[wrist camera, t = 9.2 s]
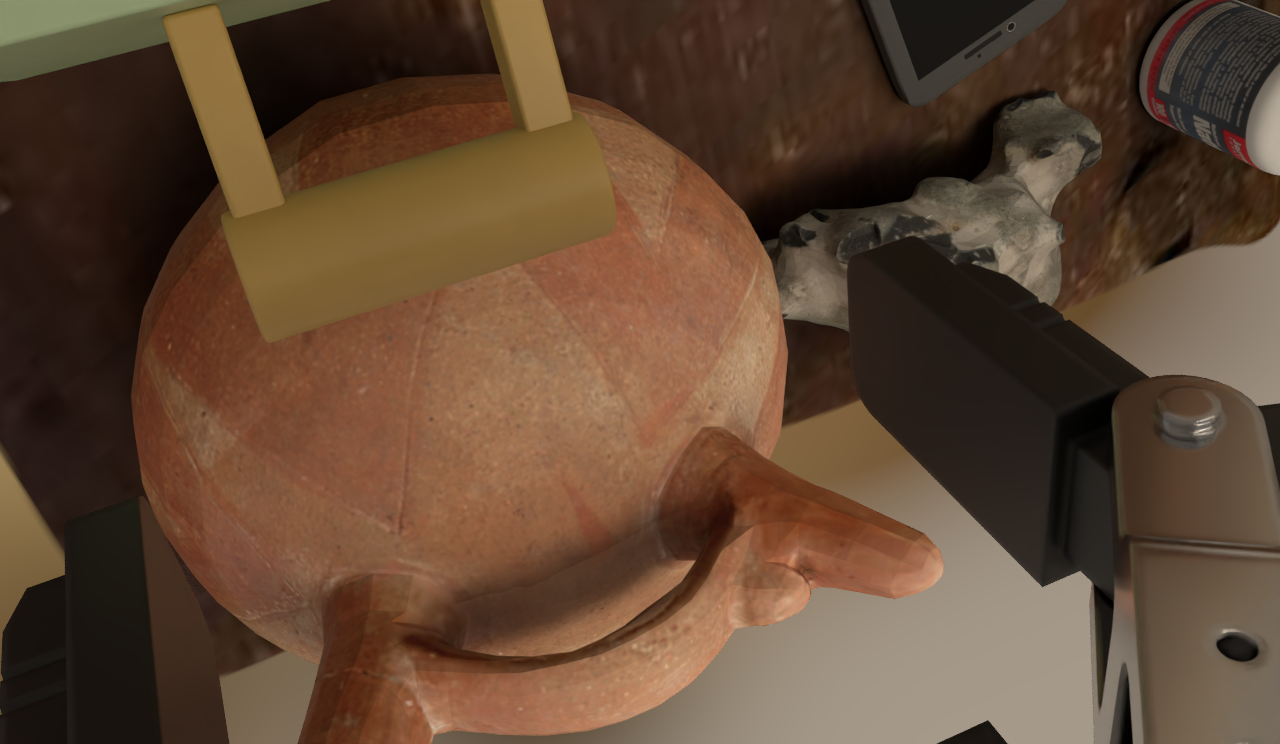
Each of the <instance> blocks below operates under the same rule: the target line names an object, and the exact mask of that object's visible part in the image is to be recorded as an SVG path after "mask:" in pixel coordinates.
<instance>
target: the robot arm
mask: <svg viewBox="0 0 1280 744" xmlns="http://www.w3.org/2000/svg"><path fill="white" fill-rule="evenodd" d="M847 293H848V318H849V343H850V365H851V372H852V376H853V380H854V383H855V386H856V389H857V391H858V394H859V396H860V398H861V400H862V402H863V403H864V405H865V407H866V408H867V409H868V411H869V412H870V413H871V415H872V416H873V417H874V418H875V419H876V420H878V422H879V423H880V424H881V425H882V426H883V427H884V428H885V429H886V430H887V431H888V432H889V433H890V434H891V435H892V436H893V437H894V438H895V439H896V440H897V441H898V442H899V443H900V444H901V445H902V446H903V447H904V448H905V449H906V450H907V451H908V452H909V453H910V454H911V455H912V456H913V457H914V458H915V459H916V460H917V461H918V462H919V463H920V464H921V465H922V466H923V467H924V468H925V469H926V470H927V471H928V472H929V473H930V474H931V475H932V476H933V477H934V478H935V479H936V480H937V481H938V482H939V483H940V484H941V485H942V486H943V487H944V488H945V489H946V490H947V491H948V492H949V493H950V494H951V495H952V496H953V497H954V498H955V499H956V500H957V501H958V502H959V503H960V504H961V505H962V506H963V507H964V508H965V510H966V511H967V512H968V513H970V515H971V516H972V517H973V518H975V520H976V521H977V522H979V524H981V526H982V527H984V529H985V530H987V532H988V533H989V534H990V535H991V536H992V537H993V538H994V539H995V540H996V541H997V542H998V543H999V544H1000V545H1001V546H1002V547H1003V548H1004V549H1005V550H1006V551H1007V552H1008V553H1010V555H1011V556H1012V557H1013V558H1014V559H1015V560H1016V561H1017V562H1018V563H1019V564H1020V565H1021V566H1022V567H1023V568H1024V569H1025V570H1026V571H1027V572H1028V573H1029V574H1030V575H1031V576H1032V577H1033V578H1034V579H1035V580H1036V581H1037V582H1038V583H1039V584H1040V585H1041V586H1042V587H1044V586H1046V585H1048V584H1051V583H1053V582H1055V581H1057V580H1060V579H1062V578H1064V577H1067V576H1069V575H1071V574H1074V573H1076V572H1078V571H1082V573H1083V574H1084V575H1085V576H1086V577H1087V578H1089V579H1090V580H1091V581H1092V586H1091V594H1090V605H1089V606H1090V634H1091V664H1092V694H1093V723H1094V744H1280V404H1272V405H1264V406H1257V405H1255V403H1254V402H1253V401H1252V400H1251V399H1249V398H1248V397H1247V396H1245V395H1244V394H1243V393H1241V392H1240V391H1238V390H1236V389H1234V388H1232V387H1230V386H1228V385H1225V384H1223V383H1220V382H1217V381H1214V380H1210V379H1207V378H1201V377H1196V376H1187V375H1164V376H1156V377H1151V378H1150V377H1148V376H1147V375H1145V374H1144V373H1143V372H1141V371H1140V370H1139V369H1137V368H1136V367H1134V366H1133V365H1132V364H1130V363H1129V362H1127V361H1126V360H1125V359H1123V358H1122V357H1121V356H1119V355H1118V354H1116V353H1115V352H1113V351H1112V350H1111V349H1109V348H1108V347H1107V346H1105V345H1104V344H1102V343H1101V342H1100V341H1098V340H1097V339H1095V338H1094V337H1093V336H1091V335H1090V334H1088V333H1087V332H1086V331H1084V330H1083V329H1081V328H1080V327H1079V326H1077V325H1076V324H1075V323H1073V322H1072V321H1070V320H1067V321H1065V320H1064V318H1063V315H1062V314H1061V313H1059V312H1058V311H1057V310H1055V309H1054V308H1052V307H1051V306H1050V305H1048V304H1047V303H1045V302H1042V303H1040V302H1039V300H1038V297H1037V296H1036V295H1034V294H1033V293H1031V292H1030V291H1029V290H1027V289H1026V288H1025V287H1023V286H1022V285H1020V284H1019V283H1018V282H1016V281H1015V280H1013V279H1012V278H1011V277H1009V276H1008V275H1005V274H1002V273H999V272H996V271H993V270H990V269H987V268H984V267H981V266H978V265H975V264H972V263H969V262H966V261H965V262H962V263H959V264H956V265H955V264H954V263H953V262H951V261H950V260H949V259H947V258H946V257H945V256H943V255H942V254H940V253H939V252H938V251H936V250H935V249H934V248H932V247H931V246H930V245H928V244H927V243H926V242H924V241H923V240H922V239H920V238H918V237H916V236H908V237H905V238H902V239H899V240H896V241H893V242H890V243H887V244H884V245H882V246H879V247H876V248H873V249H870V250H867V251H864V252H861V253H858V254H855V255H853V256H852V257H851V259H850V260H849V263H848V267H847ZM64 532H65V575H63V576H61V577H58V578H55V579H52V580H49V581H46V582H44V583H41V584H38V585H35V586H32V587H29V588H27V589H26V591H25V593H24V595H23V597H22V598H21V600H20V602H19V604H18V605H17V607H16V609H15V611H14V613H13V614H12V616H11V618H10V620H9V622H8V624H7V625H6V628H5V629H4V631H3V639H2V661H1V674H2V677H3V681H1V682H0V709H1V713H2V715H0V744H229V739H228V732H227V726H226V719H225V713H224V706H223V700H222V693H221V687H220V680H219V674H218V667H217V661H216V656H215V651H214V647H213V643H212V640H211V636H210V633H209V630H208V627H207V624H206V621H205V618H204V616H203V613H202V611H201V608H200V606H199V603H198V601H197V599H196V597H195V595H194V593H193V591H192V589H191V587H190V585H189V583H188V581H187V579H186V577H185V575H184V573H183V571H182V569H181V567H180V565H179V563H178V561H177V559H176V557H175V554H174V552H173V550H172V548H171V546H170V544H169V542H168V540H167V538H166V536H165V534H164V532H163V530H162V528H161V526H160V524H159V522H158V520H157V518H156V516H155V514H154V512H153V510H152V508H151V506H150V505H149V503H148V502H147V500H146V499H145V498H144V497H143V496H139V497H136V498H133V499H130V500H127V501H124V502H121V503H118V504H115V505H112V506H110V507H107V508H104V509H101V510H98V511H95V512H92V513H89V514H86V515H83V516H80V517H77V518H74V519H71V520H68V521H67V522H66V524H65V531H64ZM938 744H1007V743H1006V741H1005V740H1004V739H1003V738H1002V737H1001V735H1000V734H999V733H998V732H997V730H995V728H994V727H993V726H992V724H991V723H990V722H989V721H986V722H983V723H981V724H979V725H977V726H975V727H972V728H970V729H968V730H966V731H964V732H962V733H959V734H957V735H955V736H953V737H950V738H948V739H946V740H944V741H942V742H940V743H938Z"/></svg>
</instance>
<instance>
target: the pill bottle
mask: <svg viewBox="0 0 1280 744" xmlns="http://www.w3.org/2000/svg"><path fill="white" fill-rule="evenodd" d="M1139 89H1140V95H1141V99H1142V102H1143V105H1144V107H1145V108H1146V110H1147V111H1148V113H1149V114H1150V115H1151V116H1152V117H1154V118H1155V119H1156V120H1158V121H1160V122H1162V123H1164V124H1166V125H1168V126H1170V127H1172V128H1174V129H1176V130H1178V131H1180V132H1183V133H1185V134H1187V135H1189V136H1192V137H1194V138H1196V139H1198V140H1200V141H1202V142H1204V143H1207V144H1209V145H1211V146H1213V147H1215V148H1217V149H1219V150H1221V151H1223V152H1226V153H1228V154H1230V155H1232V156H1234V157H1236V158H1238V159H1240V160H1242V161H1244V162H1246V163H1248V164H1250V165H1252V166H1254V167H1256V168H1258V169H1260V170H1262V171H1265V172H1268V173H1271V174H1275V175H1280V16H1277V15H1274V14H1272V13H1269V12H1266V11H1264V10H1261V9H1258V8H1255V7H1253V6H1250V5H1247V4H1245V3H1242V2H1240V1H1237V0H1193V1H1190V2H1189V3H1187V4H1185V5H1184V6H1182V7H1181V8H1180V9H1178V10H1177V11H1176V12H1175V13H1174V14H1172V15H1171V16H1170V17H1169V18H1168V19H1167V20H1166V21H1165V23H1164V24H1163V25H1162V26H1161V27H1160V29H1159V30H1158V32H1157V33H1156V35H1155V36H1154V38H1153V39H1152V41H1151V43H1150V45H1149V47H1148V49H1147V51H1146V54H1145V57H1144V60H1143V63H1142V67H1141V71H1140V81H1139Z"/></svg>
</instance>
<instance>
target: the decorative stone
mask: <svg viewBox="0 0 1280 744" xmlns="http://www.w3.org/2000/svg"><path fill="white" fill-rule="evenodd" d="M1101 153H1102V142H1101V133H1100V131H1099V129H1098V128H1097V127H1095V126H1094V125H1093V123H1092V122H1091V120H1090V118H1088V117H1086V116H1085V115H1083V114H1081V113H1080V112H1078V111H1077V110H1075V109H1072V108H1070V107H1068V106H1066V105H1065V104H1064V103H1063V102H1062V101H1061V100H1060V98H1059V96H1058V94H1057V93H1056V92H1055V91H1046V92H1043V93H1041V94H1039V95H1037V96H1036V97H1035V98H1033V99H1024V98H1019V99H1017V100H1016V101H1015V102H1014V103H1011V104H1009V105H1006V106H1004V107H1002V109H1001V110H1000V112H999V114H998V116H997V118H996V120H995V121H994V123H993V148H992V153H991V158H990V162H989V164H988V166H987V168H986V169H985V170H983V171H982V172H981V173H980V174H979V175H978V176H977V177H975V178H974V179H973V180H972V181H970V182H968V181H966V180H964V179H960V178H951V177H929V178H926V179H924V180H922V181H921V182H919V183H918V184H917V185H916V188H915V190H914V193H913V195H912V197H911V198H910V199H908V200H906V201H903V202H893V203H888V204H884V205H880V206H873V207H866V208H859V209H833V210H828V209H812V210H811V211H810V212H808V213H805V214H803V215H802V216H800V217H799V218H797V219H796V220H794V221H793V222H787V223H786V224H785V225H783V227H782V228H781V230H780V234H779V238H777V239H772V240H767V241H763V242H761V243H762V245H763V247H764V249H765V251H766V252H767V254H768V256H769V258H770V260H771V262H772V266H773V271H774V275H775V279H776V284H777V288H778V292H779V299H780V305H781V312H782V318H783V319H792V320H806V321H810V322H813V323H816V324H822V325H829V326H834V327H838V328H841V329H844V330H846V331H848V332H849V318H848V293H847V267H848V263H849V260H850V259H851V257H852V256H853V255H855V254H858V253H861V252H864V251H867V250H870V249H873V248H876V247H879V246H882V245H884V244H887V243H890V242H893V241H896V240H899V239H902V238H905V237H908V236H916V237H918V238H920V239H922V240H923V241H924V242H926V243H927V244H928V245H930V246H931V247H932V248H934V249H935V250H936V251H938V252H939V253H940V254H942V255H943V256H945V257H946V258H947V259H949V260H950V261H951V262H953V263H954V264H955V265H956V264H959V263H962V262H965V261H966V262H969V263H972V264H975V265H978V266H981V267H984V268H987V269H990V270H993V271H996V272H999V273H1002V274H1005V275H1008V276H1009V277H1011V278H1012V279H1013V280H1015V281H1016V282H1018V283H1019V284H1020V285H1022V286H1023V287H1025V288H1026V289H1027V290H1029V291H1030V292H1031V293H1033V294H1034V295H1036V296H1037V297H1038V300H1039V302H1040V303H1042V302H1045V303H1047V304H1048V305H1050V306H1051V305H1052V304H1053V303H1054V301H1055V300H1056V299H1057V297H1058V294H1059V292H1060V286H1061V254H1060V246H1059V245H1060V244H1061V243H1063V242H1064V241H1065V235H1064V230H1063V225H1062V224H1061V223H1059V222H1057V221H1055V220H1054V219H1053V218H1052V217H1051V210H1052V207H1053V204H1054V201H1055V199H1056V197H1057V195H1058V194H1059V192H1060V191H1061V189H1062V188H1063V187H1064V186H1065V185H1066V184H1067V183H1068V182H1070V181H1071V180H1072V179H1074V178H1075V177H1076V176H1077V175H1079V174H1080V173H1082V172H1083V171H1084V170H1086V169H1088V168H1089V167H1091V166H1092V165H1094V164H1095V163H1096V162H1097V161H1098V160H1099V159H1100V158H1101V156H1102V154H1101Z"/></svg>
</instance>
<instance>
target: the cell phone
mask: <svg viewBox="0 0 1280 744" xmlns="http://www.w3.org/2000/svg"><path fill="white" fill-rule="evenodd" d="M861 2H862V5H863V7H864V10H865V13H866V15H867V18H868V21H869V23H870V26H871V29H872V31H873V34H874V37H875V39H876V42H877V45H878V47H879V50H880V52H881V55H882V58H883V60H884V63H885V66H886V68H887V71H888V74H889V76H890V78H891V81H892V83H893V85H894V87H895V89H896V91H897V93H898V95H899V96H900V98H901V99H902V100H903V102H905V103H907V104H909V105H910V106H912V107H918V106H923V105H925V104H927V103H929V102H931V101H932V100H934V99H936V98H937V97H939V96H940V95H942V94H943V93H945V92H946V91H947V90H949V89H950V88H952V87H953V86H955V85H956V84H957V83H959V82H960V81H962V80H963V79H965V78H966V77H968V76H969V75H970V74H972V73H973V72H975V71H976V70H978V69H979V68H981V67H982V66H983V65H985V64H986V63H988V62H989V61H991V60H992V59H994V58H995V57H996V56H998V55H999V54H1001V53H1002V52H1004V51H1005V50H1006V49H1008V48H1009V47H1011V46H1012V45H1014V44H1015V43H1017V42H1018V41H1019V40H1021V39H1022V38H1024V37H1025V36H1027V35H1028V34H1030V33H1031V32H1032V31H1034V30H1035V29H1037V28H1038V27H1040V26H1041V25H1042V24H1044V23H1045V22H1047V21H1048V20H1050V19H1051V18H1052V17H1053V16H1054V15H1055V14H1057V13H1058V12H1059V11H1060V10H1061V9H1062V8H1063V6H1064V5H1065V4H1066V3H1067V0H861Z"/></svg>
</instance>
